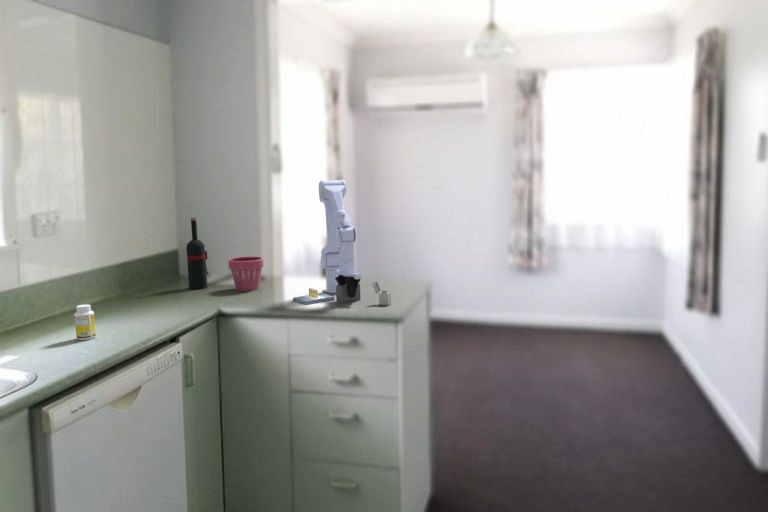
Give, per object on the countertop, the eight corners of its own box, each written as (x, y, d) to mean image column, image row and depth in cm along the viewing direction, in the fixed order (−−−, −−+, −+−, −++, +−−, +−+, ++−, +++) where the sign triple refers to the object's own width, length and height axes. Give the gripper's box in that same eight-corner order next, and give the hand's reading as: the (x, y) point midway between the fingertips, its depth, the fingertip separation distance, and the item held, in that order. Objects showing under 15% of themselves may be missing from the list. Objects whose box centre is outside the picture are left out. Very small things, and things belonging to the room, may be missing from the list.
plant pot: (270, 289, 292) (268, 258, 290) (238, 293, 284) (236, 262, 282) (256, 284, 304) (254, 255, 302) (225, 288, 296) (223, 258, 294)
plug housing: (336, 301, 261) (335, 285, 260) (354, 298, 265) (353, 282, 265) (342, 302, 257) (341, 286, 257) (360, 299, 262) (359, 283, 261)
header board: (320, 296, 272) (320, 285, 271) (334, 299, 264) (333, 288, 263) (293, 300, 265) (292, 289, 264) (306, 304, 257) (305, 292, 256)
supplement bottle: (90, 335, 220) (87, 303, 219) (99, 337, 217) (96, 305, 215) (73, 339, 216) (70, 306, 215) (82, 341, 212) (79, 308, 211)
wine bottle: (215, 285, 304) (210, 216, 300) (199, 290, 295) (193, 218, 291) (201, 285, 308) (196, 216, 304) (184, 289, 299) (179, 218, 295)
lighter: (391, 304, 252) (390, 282, 251) (388, 305, 250) (387, 283, 249) (375, 302, 256) (374, 280, 255) (372, 303, 254) (371, 281, 253)
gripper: (327, 259, 263) (328, 295, 265) (348, 262, 251) (350, 300, 253) (343, 257, 267) (344, 292, 269) (364, 260, 255) (366, 297, 257)
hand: (348, 296), depth 261 cm, fingers open, 4 cm apart
